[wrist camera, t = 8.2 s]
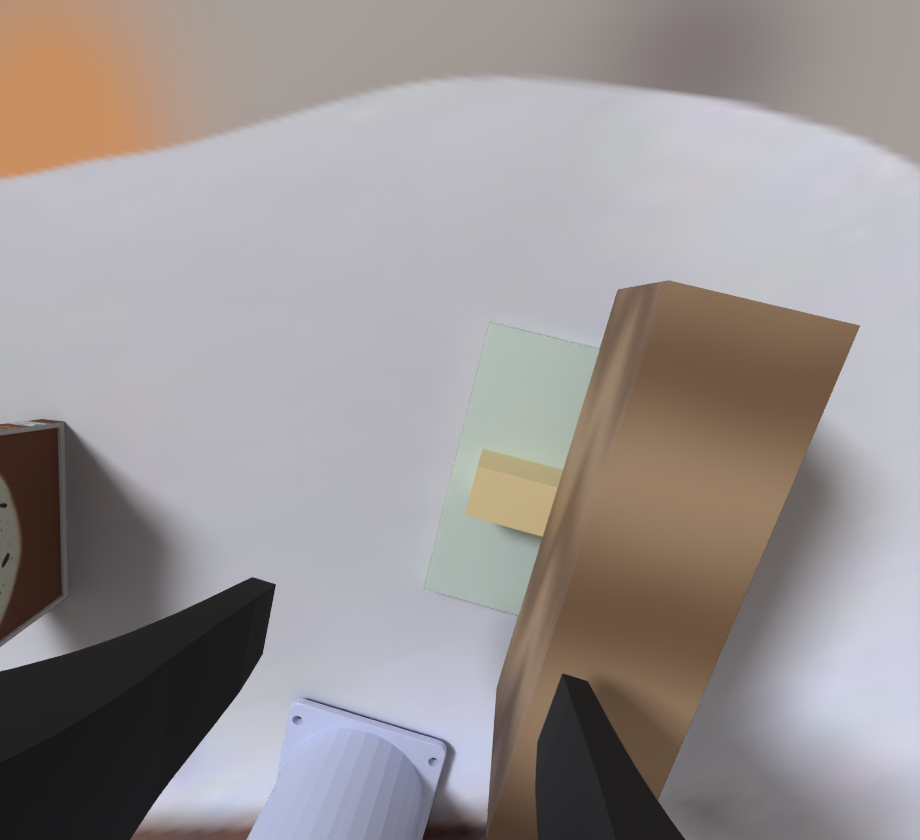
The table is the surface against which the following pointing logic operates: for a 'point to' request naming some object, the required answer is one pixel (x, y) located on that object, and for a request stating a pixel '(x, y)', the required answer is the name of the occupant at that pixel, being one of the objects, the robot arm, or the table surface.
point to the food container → (32, 523)
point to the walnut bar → (659, 521)
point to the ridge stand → (508, 465)
